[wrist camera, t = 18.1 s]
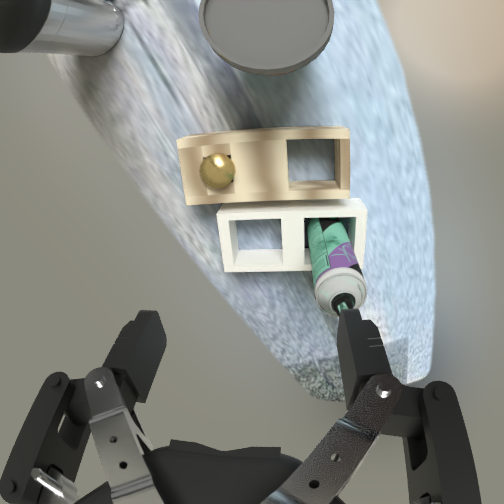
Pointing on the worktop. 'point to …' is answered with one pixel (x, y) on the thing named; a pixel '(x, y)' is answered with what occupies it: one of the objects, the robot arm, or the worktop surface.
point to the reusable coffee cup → (267, 32)
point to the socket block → (261, 165)
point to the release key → (217, 170)
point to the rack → (286, 232)
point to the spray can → (334, 267)
